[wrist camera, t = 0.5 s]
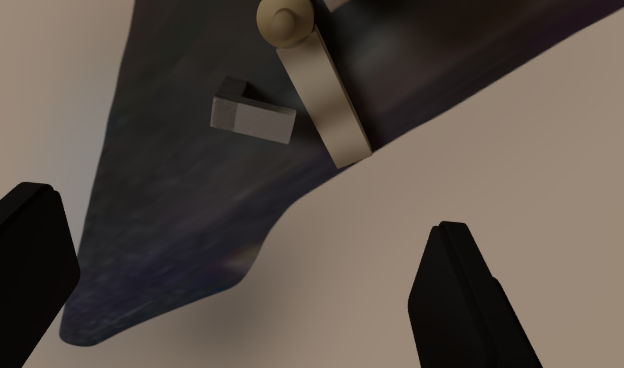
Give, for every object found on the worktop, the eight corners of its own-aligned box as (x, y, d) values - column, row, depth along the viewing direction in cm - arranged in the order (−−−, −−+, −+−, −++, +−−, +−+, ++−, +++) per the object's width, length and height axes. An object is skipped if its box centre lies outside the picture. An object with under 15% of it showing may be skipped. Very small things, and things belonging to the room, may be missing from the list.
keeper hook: (225, 75, 42) (213, 97, 37) (298, 93, 43) (295, 116, 38) (222, 102, 44) (210, 126, 39) (291, 119, 45) (288, 144, 40)
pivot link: (250, -1, 38) (240, 12, 33) (299, -27, 37) (296, -17, 32) (332, 157, 47) (334, 186, 42) (373, 141, 46) (380, 168, 41)
